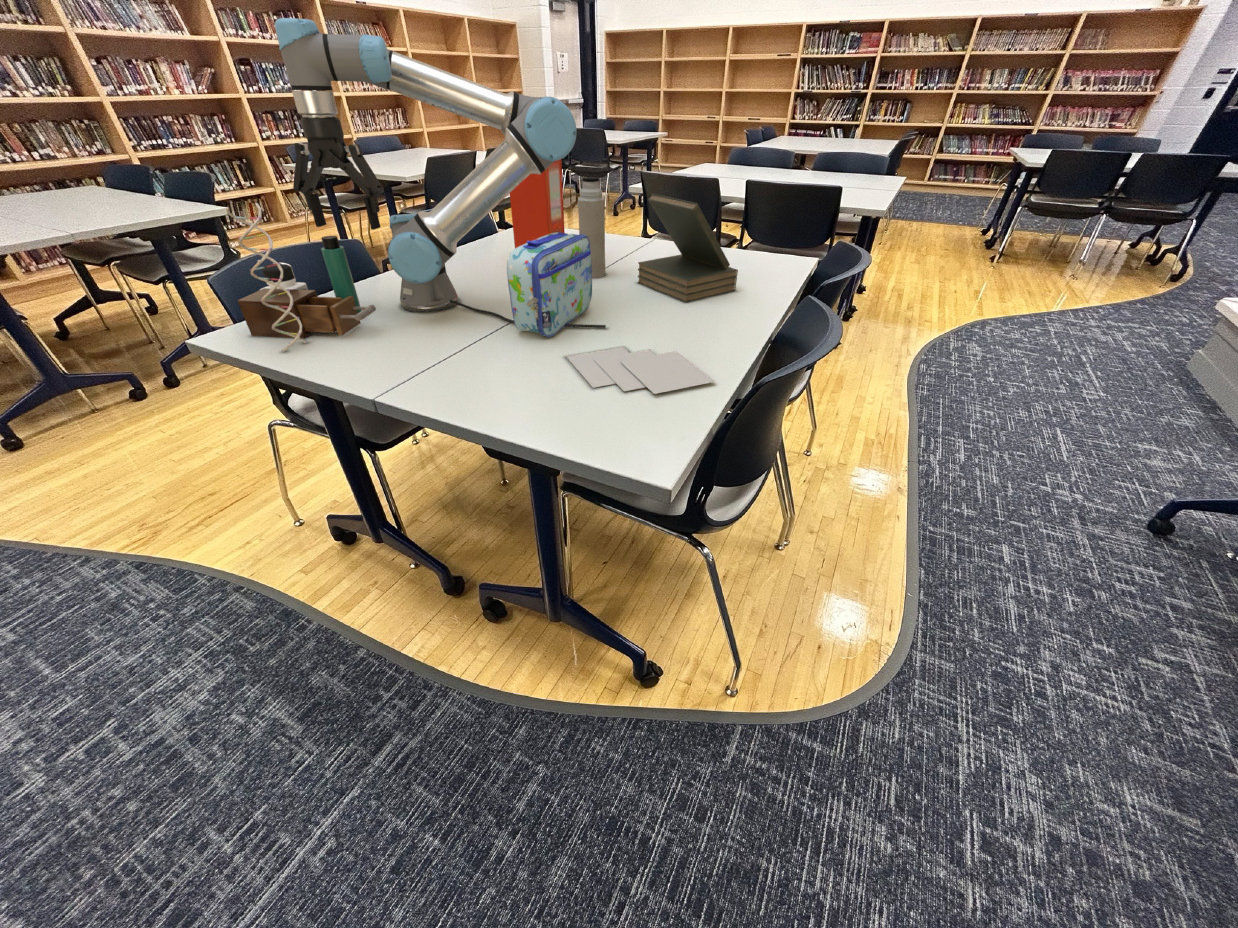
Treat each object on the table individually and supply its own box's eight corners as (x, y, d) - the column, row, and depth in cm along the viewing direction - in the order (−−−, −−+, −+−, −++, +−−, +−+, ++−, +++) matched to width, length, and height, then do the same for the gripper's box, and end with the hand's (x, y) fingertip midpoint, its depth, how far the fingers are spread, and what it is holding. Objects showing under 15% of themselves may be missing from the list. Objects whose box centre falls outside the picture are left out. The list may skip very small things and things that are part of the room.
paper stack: (609, 406, 99) (609, 403, 99) (565, 356, 118) (565, 353, 118) (715, 384, 107) (716, 381, 107) (659, 340, 126) (659, 338, 125)
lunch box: (546, 344, 124) (538, 250, 112) (508, 336, 128) (497, 245, 116) (598, 310, 143) (596, 227, 131) (564, 305, 147) (559, 223, 135)
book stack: (735, 291, 158) (747, 198, 144) (685, 302, 149) (692, 205, 135) (685, 273, 174) (691, 188, 159) (637, 283, 165) (639, 193, 150)
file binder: (532, 254, 194) (523, 153, 176) (566, 262, 185) (561, 156, 167) (515, 258, 189) (505, 155, 171) (549, 266, 180) (542, 158, 162)
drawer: (381, 324, 132) (374, 296, 128) (364, 336, 125) (356, 308, 122) (313, 321, 134) (304, 294, 130) (293, 333, 127) (283, 305, 123)
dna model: (290, 355, 119) (234, 208, 101) (273, 349, 121) (215, 205, 104) (317, 345, 123) (268, 203, 106) (299, 339, 126) (249, 200, 109)
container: (296, 321, 136) (277, 269, 129) (270, 319, 137) (250, 267, 130) (316, 311, 142) (299, 261, 135) (290, 309, 143) (273, 259, 136)
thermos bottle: (575, 275, 171) (571, 177, 155) (591, 270, 177) (588, 175, 161) (595, 279, 168) (592, 180, 152) (610, 273, 173) (609, 177, 157)
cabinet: (326, 324, 135) (315, 290, 130) (304, 338, 127) (291, 302, 122) (276, 322, 136) (263, 288, 131) (251, 336, 128) (236, 300, 123)
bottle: (365, 309, 144) (344, 235, 133) (355, 316, 139) (333, 239, 128) (347, 309, 144) (325, 234, 133) (336, 315, 140) (313, 239, 129)
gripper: (384, 117, 111) (407, 226, 123) (277, 115, 114) (309, 221, 126) (365, 118, 104) (390, 233, 117) (252, 116, 108) (288, 228, 120)
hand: (348, 227), depth 121 cm, fingers open, 13 cm apart
